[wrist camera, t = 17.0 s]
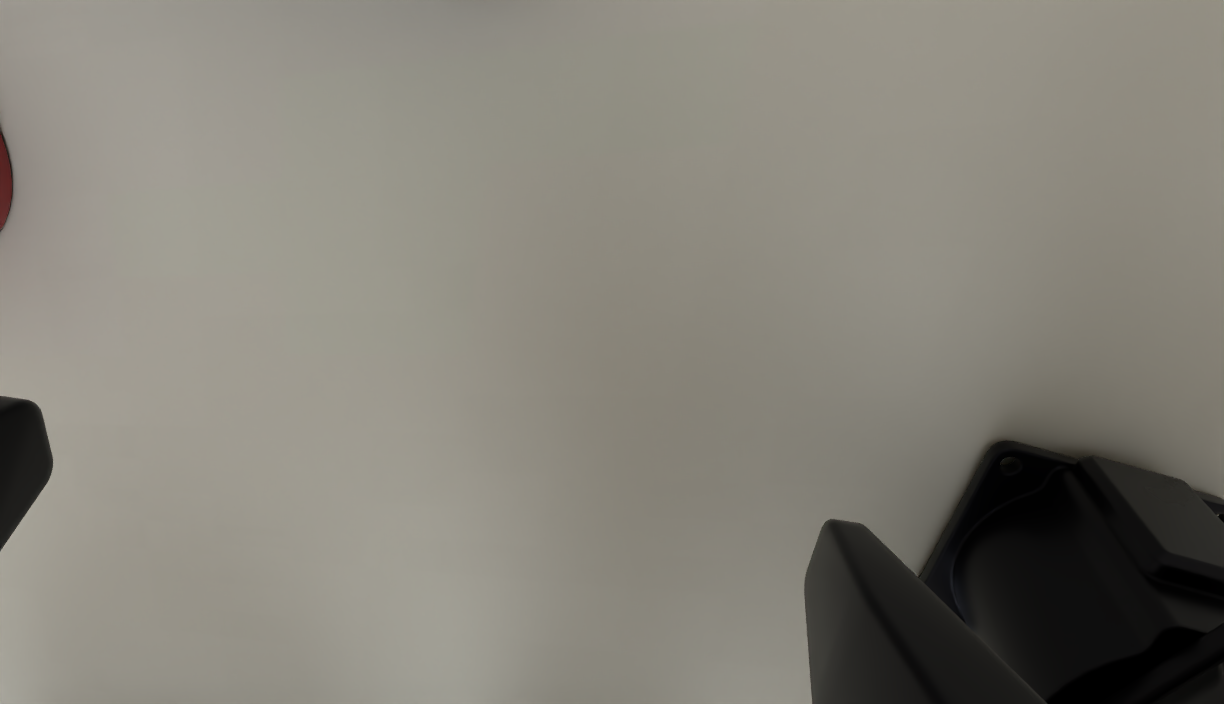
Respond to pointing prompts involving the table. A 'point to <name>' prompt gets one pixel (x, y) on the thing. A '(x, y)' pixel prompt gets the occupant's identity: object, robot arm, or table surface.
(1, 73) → the table surface
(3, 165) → the can
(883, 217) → the table surface
